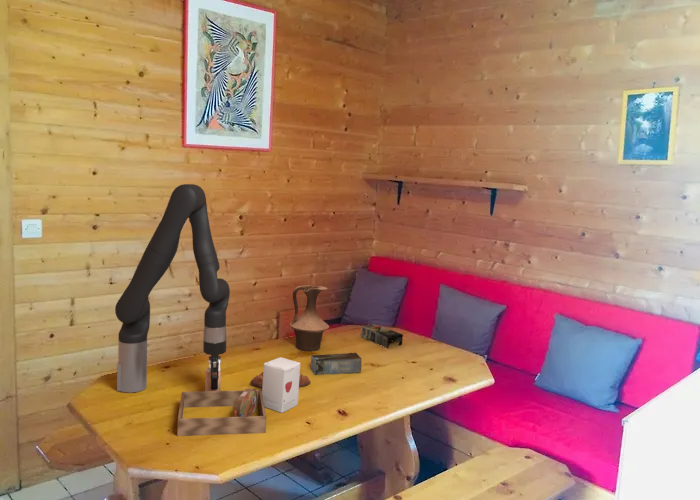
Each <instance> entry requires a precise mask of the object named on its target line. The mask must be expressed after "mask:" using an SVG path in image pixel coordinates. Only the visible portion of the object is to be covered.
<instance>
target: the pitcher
mask: <svg viewBox="0 0 700 500" xmlns="http://www.w3.org/2000/svg"><path fill="white" fill-rule="evenodd" d="M301 290H302V291H303V293H304V294H305V295H306V305H305V306H306V307H305V309H304V311H303V312H302V313H301V314H300V315H299V305H298V300H297V294H298V292H299V291H301ZM328 290H329V288H328V287H327V286H322V285H315V286H313V285H312V284H307V285H299V286H296V287H295V288H294V289H293V291H292V302H293V305H294V316H293V319H292V321H290V322H289V325H288V326H289V327H290V328H292V329H293V331H294V333H295V334H294V336H295V348H296V349H297V350H300V351H305V352H316V351H319V350H320V349H321V343H322V340H323V339H322V338H323V334H324V331H326V330H328V329H329V328H330V326H329V324H328V323H327V322H325V321H324V320H323V319H322V318H321V317H320V315H319V313H318V310H317V299H318V296H319V294H320V293H321V292H323V291H328Z"/></svg>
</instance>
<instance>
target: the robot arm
mask: <svg viewBox="0 0 700 500" xmlns="http://www.w3.org/2000/svg"><path fill="white" fill-rule="evenodd" d="M205 193H206V192H205V190H204V189H203V188H201V186H199V185H198V184H194V183H192V184H191V183H187V184H186V183H185V184H183V183H182V184H180V185H178V186H177V187H175V189H174V190H173V191H172V193H171V194H170V197H169V200H168V201H167V205H166V208H165V210H164V213H163V216H162V218H161V220H160V222H159V224H158V225H157V227H156V229H155V231H154V233H153V234H152V237H151V238H150V240H149V241H148V244H147V246H146V248H145V250H144V252H143V254H142V256H141V258H140V260H139V263H138V264H137V266H136V269H135V271H134V273H133V275H132V279H131V280H130V282H129V284H128V285H127V286H126V288H125V290H124V291H123V293H122V294H121V296H120V297H119V298H118V300H117V302H116V304H115V309H114V310H115V311H114V313H115V316H116V318H117V319H118V321H119V322H120V323H122V325H121V327H120V329H119V331H118V335H117V336H118V339H117V341H118V347H117V348H118V351H117V352H118V353H117V355H118V362H117V364H116V391H117V392H123V393H138V392H142V391H143V390H146V388H147V385H148V384H147V383H148V380H147V378H148V377H147V375H148V369H147V368H148V334H149V330H150V326H151V325H150V324H151V323H150V321H151V320H150V319H151V303H150V300H149V295H150V294H151V292H152V290H153V289H154V288H155V286H156V285H157V284H158V282H159V281H160V280H161V279H162V278H163V276H164V274H166V272H167V270H168V269H169V267H170V266H171V263H172V262H173V260H174V258H175V256H176V253H177V251H178V248H179V243H180V239H181V234H182V231H183V228H184V226H185V224H186V222H187V221H188V220H189V222H190V227H191V235H192V238H191V239H192V251H193V256H194V259H195V263H196V266H197V269H198V281H199V282H198V285H199V291H200V294H201V296H202V299H203V300H204V301H205V302H207V303H208V306H207V308H206V309H205V311H204V316H203V317H204V320H203V321H204V325H203V326H204V327H203V337H202V338H203V340H202V341H203V345H202V347H203V353H204V354H206V355H209V356H208V365H209V366H208V367H209V372H210V373H211V377H210V378H211V389H212V390H217V389H218V378H219V376H218V373H219V372H220V370H221V361H222V360H221V359H222V357H221V355H223V354H224V353H226V351H227V310H228V305H229V300H230V295H231V294H230V293H231V291H230V286H229V283H228V282H227V280H225V279H223V278H219V277H218V271H219V270H220V262H219V258H218V255H217V250H216V247H215V244H214V240H213V237H212V236H213V235H212V231H211V227H210V220H209V214H208V213H209V212H208V204H207V195H206V194H205ZM213 372H217V375H212V373H213Z"/></svg>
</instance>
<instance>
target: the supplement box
mask: <svg viewBox="0 0 700 500" xmlns="http://www.w3.org/2000/svg"><path fill="white" fill-rule="evenodd" d="M300 371H301V362H298V361H295V360H291V359H288V358H285V357H281V356H280V357H277V358H274V359H272V360H269V361H266V362H264V363H263V371H262V372H263V387H262V388H261V390H262V395H263V401H264V406H265V409H266V408H267V409H269V410H272V411H275V412H278V413H281V414H282V413H283V414H284V413H285V412H287V411H288V410H292V409H293V408H295V407H296V406H298V405H299V390H300V389H299V388H300V387H299V376H300V373H301V372H300Z"/></svg>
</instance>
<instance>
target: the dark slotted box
mask: <svg viewBox="0 0 700 500" xmlns="http://www.w3.org/2000/svg"><path fill="white" fill-rule="evenodd" d="M360 329H361V331H360V338H362V339H365V340H367V341H369V342H371V341H372V343H373V342H374V343H373V344H376V343H377V344H376V345H378V344H379V345H378V346H380V345H382V346H381V347H383V346H384V347H383V348H385V347H386V348H385V349H389V346H390V342H393V343H394V342H396V343H395V344H397V343H398V344H397V345H398V346H402V345H403V340H404V338H403V337H404V334H402V333H400V332H398V331H394V330H392V329H389V328H387V327H384V326H381V325H379V324H368V325H364V326H361V328H360ZM390 340H391V341H390Z"/></svg>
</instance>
